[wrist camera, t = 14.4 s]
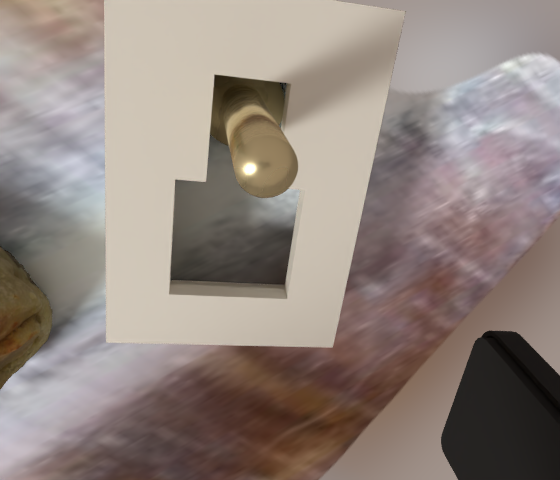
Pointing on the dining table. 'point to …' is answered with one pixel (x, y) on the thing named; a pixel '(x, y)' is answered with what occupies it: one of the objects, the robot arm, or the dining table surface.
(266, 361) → the dining table surface
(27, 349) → the pastry
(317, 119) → the keyhole box
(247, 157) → the bolt
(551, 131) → the dining table surface
